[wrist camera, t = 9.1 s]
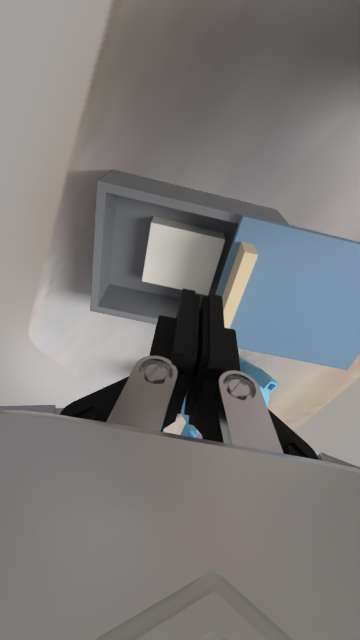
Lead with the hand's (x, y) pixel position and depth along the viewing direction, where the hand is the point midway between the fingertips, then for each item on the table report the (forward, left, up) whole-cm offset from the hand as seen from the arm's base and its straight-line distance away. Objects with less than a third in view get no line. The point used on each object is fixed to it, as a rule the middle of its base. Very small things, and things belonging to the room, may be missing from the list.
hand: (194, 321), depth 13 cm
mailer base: (0, +6, -24) cm, 25 cm away
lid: (-13, +6, -17) cm, 23 cm away
